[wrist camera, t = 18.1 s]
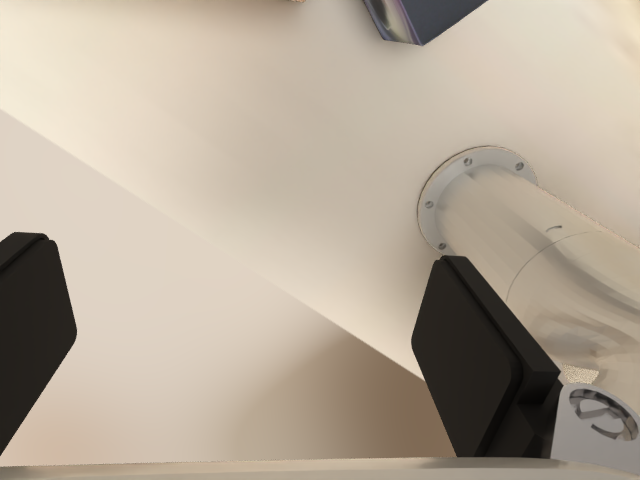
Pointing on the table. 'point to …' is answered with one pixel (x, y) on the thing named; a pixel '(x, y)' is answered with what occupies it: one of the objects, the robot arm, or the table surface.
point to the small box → (418, 17)
